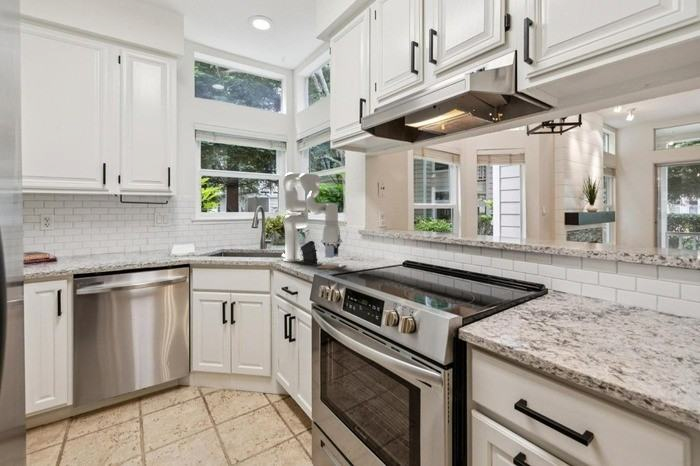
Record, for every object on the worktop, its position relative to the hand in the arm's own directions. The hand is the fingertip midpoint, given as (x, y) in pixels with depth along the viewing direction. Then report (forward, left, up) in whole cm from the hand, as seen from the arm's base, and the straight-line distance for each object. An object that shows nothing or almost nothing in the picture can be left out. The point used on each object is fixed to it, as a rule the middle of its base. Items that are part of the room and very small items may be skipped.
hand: (332, 253), depth 199 cm
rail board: (0, 0, -8) cm, 8 cm away
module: (0, 0, -2) cm, 2 cm away
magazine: (-21, +6, -9) cm, 24 cm away
